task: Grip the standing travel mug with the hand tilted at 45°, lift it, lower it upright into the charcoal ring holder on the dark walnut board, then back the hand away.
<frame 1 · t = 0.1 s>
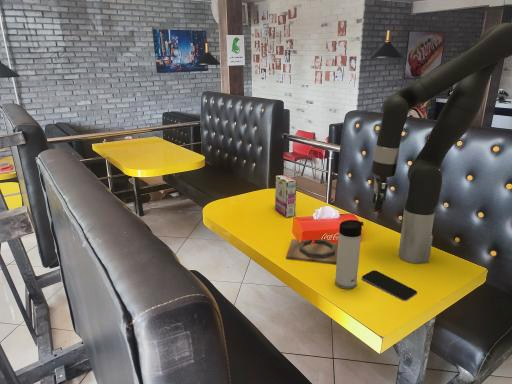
hand: (376, 207, 124), 17 cm above the table, tool pointing down, fingers open, 8 cm apart
candy bar box: (285, 213, 166), on the table
smartphone: (388, 287, 110), on the table
mug holder board: (317, 252, 130), on the table
travel mug: (346, 284, 111), on the table
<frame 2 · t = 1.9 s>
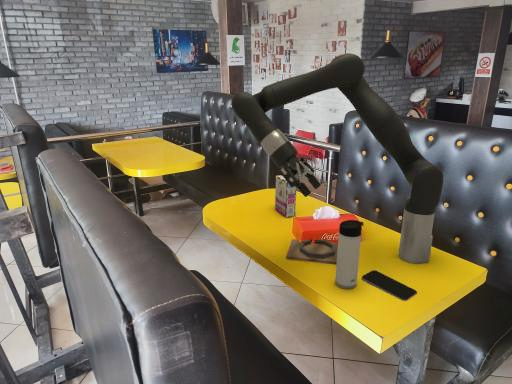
hand: (313, 191, 108), 27 cm above the table, tool tilted 45°, fingers open, 8 cm apart
nothing on the table moved.
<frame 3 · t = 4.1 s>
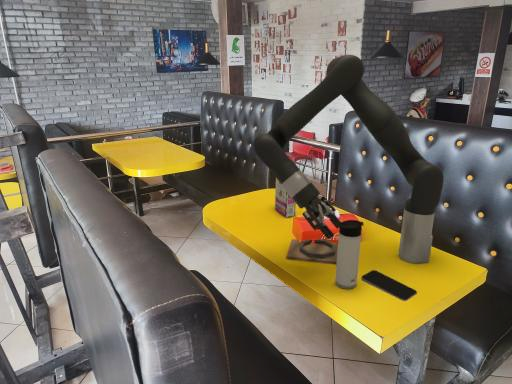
hand: (335, 231, 108), 16 cm above the table, tool tilted 45°, fingers open, 8 cm apart
nothing on the table moved.
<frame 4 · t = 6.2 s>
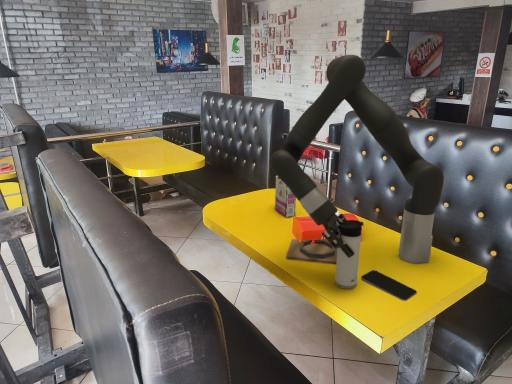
hand: (354, 250, 107), 11 cm above the table, tool tilted 45°, fingers closed on travel mug, 6 cm apart
travel mug: (346, 284, 111), on the table, touching gripper
everything else where it was.
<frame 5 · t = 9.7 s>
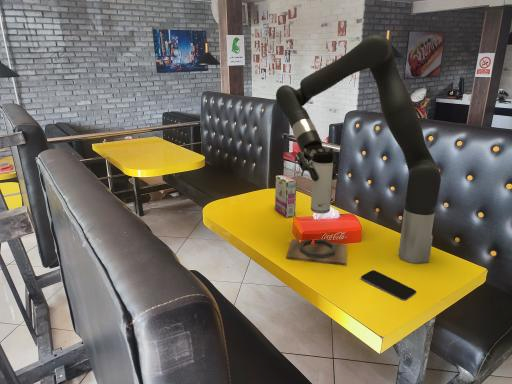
hand: (325, 178, 117), 28 cm above the table, tool tilted 45°, fingers closed on travel mug, 6 cm apart
travel mug: (320, 210, 122), point 17 cm above the table, touching gripper
everything else where it was.
when the fingers open (14 cm above the table, at t = 13.4 s): travel mug drops 1 cm, resting on mug holder board.
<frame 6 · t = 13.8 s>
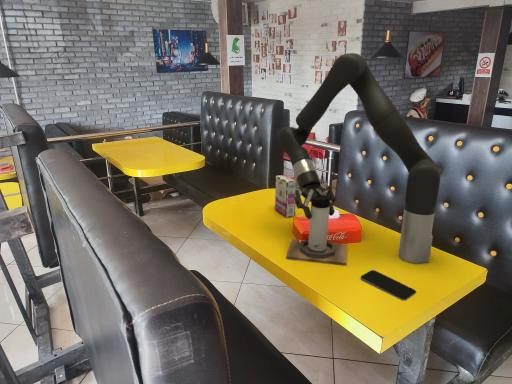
hand: (321, 216, 124), 14 cm above the table, tool tilted 45°, fingers open, 8 cm apart
travel mug: (317, 250, 130), point 1 cm above the table, touching mug holder board
everything else where it was.
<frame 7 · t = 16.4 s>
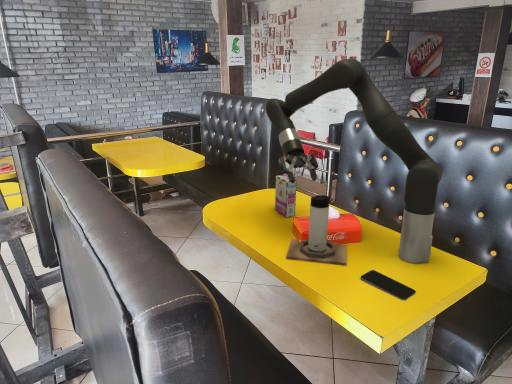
hand: (304, 181, 132), 23 cm above the table, tool tilted 45°, fingers open, 8 cm apart
nothing on the table moved.
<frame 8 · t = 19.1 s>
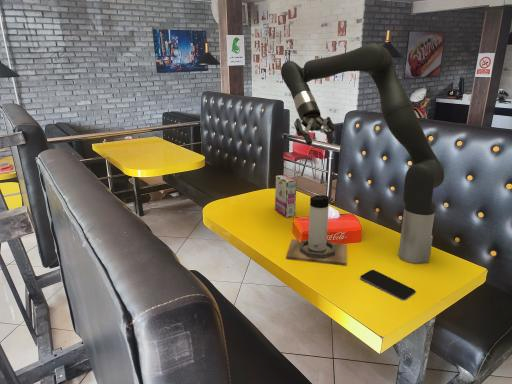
hand: (321, 143, 129), 37 cm above the table, tool tilted 45°, fingers open, 8 cm apart
nothing on the table moved.
at the end: travel mug 0.3 cm off-centre on the mug holder board, point 0.8 cm above the mug holder board's base; travel mug tilted 0°; the gripper is holding nothing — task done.
